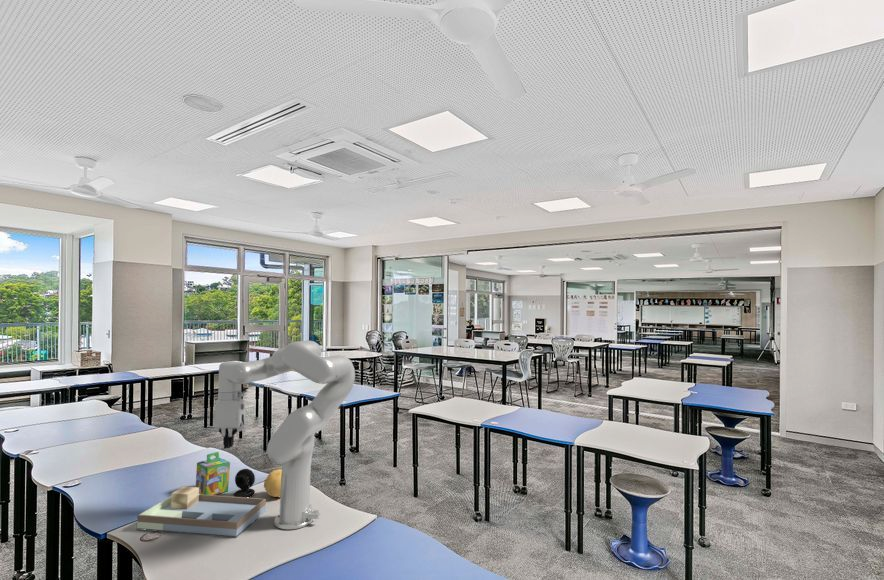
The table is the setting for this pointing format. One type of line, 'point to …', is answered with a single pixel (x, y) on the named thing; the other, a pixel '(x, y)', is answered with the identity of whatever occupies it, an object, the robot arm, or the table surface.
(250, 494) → the webcam
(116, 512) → the table surface
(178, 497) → the block
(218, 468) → the chalk box
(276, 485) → the stress ball
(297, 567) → the table surface
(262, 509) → the box
